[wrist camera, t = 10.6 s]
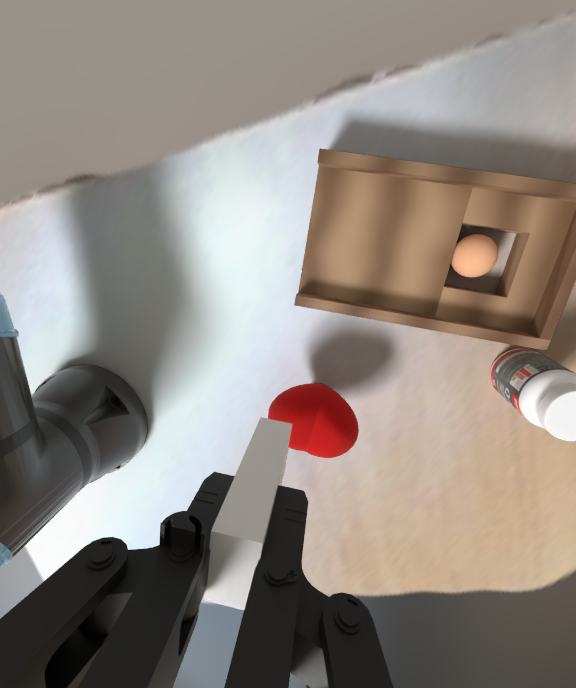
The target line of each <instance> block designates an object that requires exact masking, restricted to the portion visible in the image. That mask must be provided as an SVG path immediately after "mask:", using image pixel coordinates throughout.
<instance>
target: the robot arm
mask: <svg viewBox="0 0 576 688" xmlns="http://www.w3.org/2000/svg"><path fill="white" fill-rule="evenodd" d="M18 335H19V334H18V331H17V330H16V329H14V326H13V323H12V320H11V317H10V314H9V310H8V307H7V304H6V301H5V299H4V297H3V295H2V294H1V293H0V567H2V566H4V565H6V564H7V563H8V562H9V561H10V560H11V559H12V558H13V556H14V555H16V554H17V553H18V552H19V551H20V550H21V549H22V548H23V547H24V546H25V545H26V544H27V543H28V542H29V541H30V540H31V539H32V538H33V537H34V536H35V535H36V534H37V533H38V532H39V531H40V530H41V529H42V528H43V527H44V526H45V525H46V524H47V523H48V522H49V521H50V520H51V519H52V518H53V517H54V516H55V515H56V514H57V513H58V512H59V511H60V510H61V509H62V508H63V507H64V506H65V505H66V504H67V503H68V502H69V501H70V500H71V499H72V498H73V497H74V496H75V495H76V494H77V493H78V492H79V491H80V490H81V489H82V488H83V487H84V486H85V485H87V484H89V483H91V482H93V481H95V480H97V479H99V478H101V477H102V476H104V475H105V474H107V473H111V472H113V471H116V470H118V469H120V468H121V467H123V466H124V465H126V464H127V463H128V462H129V461H130V460H131V459H132V458H133V457H134V456H135V455H136V454H137V453H138V452H139V451H140V449H141V448H142V446H143V444H144V442H145V439H146V435H147V418H146V414H145V411H144V408H143V405H142V403H141V401H140V400H139V398H138V396H137V395H136V393H135V392H134V391H133V390H132V388H131V387H130V386H129V385H128V384H127V383H126V382H125V381H123V380H122V379H121V378H120V377H118V376H117V375H115V374H114V373H112V372H110V371H108V370H105V369H103V368H100V367H96V366H91V365H76V366H71V367H68V368H66V369H64V370H61V371H59V372H57V373H55V374H53V375H51V376H50V377H48V378H47V379H46V380H44V381H43V382H42V383H41V384H40V385H39V387H38V388H37V389H36V391H35V393H34V394H32V395H31V393H30V389H29V385H28V381H27V377H26V373H25V369H24V365H23V361H22V357H21V353H20V349H19V345H18V341H17V336H18ZM291 429H292V424H291V423H286V422H281V421H276V420H271V419H267V418H262V417H261V418H260V420H259V423H258V425H257V427H256V429H255V432H254V434H253V436H252V439H251V441H250V443H249V445H248V448H247V450H246V452H245V455H244V457H243V459H242V461H241V464H240V466H239V468H238V471H237V473H236V475H235V476H230V475H226V474H221V473H217V472H214V473H212V474H211V475H210V476H209V477H207V478H206V479H205V480H204V481H203V483H202V485H201V487H200V488H199V491H198V492H197V494H196V496H195V497H194V500H193V501H192V503H191V505H190V506H189V508H188V510H187V511H181V512H177V513H174V514H172V515H170V516H168V517H167V518H166V519H165V520H164V521H163V522H162V523H161V525H160V545H158V546H156V547H153V548H147V549H135V550H128V549H127V545H126V544H125V543H124V542H123V541H122V540H121V539H118V538H114V537H108V538H101V539H98V540H95V541H93V542H91V543H90V544H88V545H87V546H85V547H84V548H83V549H82V550H80V551H79V552H78V553H77V554H76V555H75V556H73V557H72V558H71V559H70V560H69V561H67V562H66V563H65V564H64V565H63V566H62V567H60V568H59V569H58V570H57V571H56V572H55V573H53V574H52V575H51V576H50V577H49V578H48V579H46V580H45V581H44V582H43V583H42V584H41V585H39V586H38V587H37V588H36V589H35V590H34V591H32V592H31V593H30V594H29V595H28V596H27V597H25V598H24V599H23V600H22V601H21V602H20V603H18V604H17V605H16V606H15V607H14V608H12V609H11V610H10V611H9V612H8V613H7V614H6V615H4V616H3V617H2V618H1V619H0V688H172V687H173V685H174V682H175V679H176V677H177V674H178V671H179V668H180V665H181V663H182V660H183V658H184V655H185V652H186V649H187V647H188V643H189V641H190V639H191V636H192V633H193V630H194V628H195V625H196V622H197V619H198V613H199V605H200V603H201V600H202V597H203V595H204V592H205V597H204V600H206V601H210V602H214V603H218V604H222V605H225V606H230V607H233V608H237V609H241V610H244V613H243V618H242V622H241V625H240V629H239V633H238V637H237V641H236V645H235V649H234V653H233V657H232V661H231V664H230V669H229V672H228V676H227V680H226V684H225V688H288V686H289V678H290V672H291V673H292V674H293V675H295V676H296V677H298V678H299V679H300V680H301V681H303V682H304V683H305V684H306V687H307V688H393V685H392V682H391V678H390V676H389V672H388V668H387V665H386V662H385V659H384V656H383V652H382V649H381V645H380V642H379V639H378V636H377V632H376V629H375V626H374V622H373V619H372V617H371V615H370V613H369V610H368V609H367V607H366V606H365V605H364V604H363V603H362V602H361V601H360V600H359V599H358V598H356V597H354V596H353V595H351V594H346V593H337V594H333V595H332V596H330V597H328V596H326V595H325V594H323V593H322V592H320V591H318V590H317V589H316V588H314V587H313V586H312V585H311V584H310V583H309V582H308V580H307V579H306V577H305V575H304V573H303V570H302V561H301V560H302V552H303V543H304V534H305V526H306V517H307V508H308V500H307V498H306V495H305V492H304V491H302V490H298V489H293V488H289V487H284V486H281V484H282V480H283V475H284V470H285V465H286V459H287V453H288V447H289V441H290V435H291Z"/></svg>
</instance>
